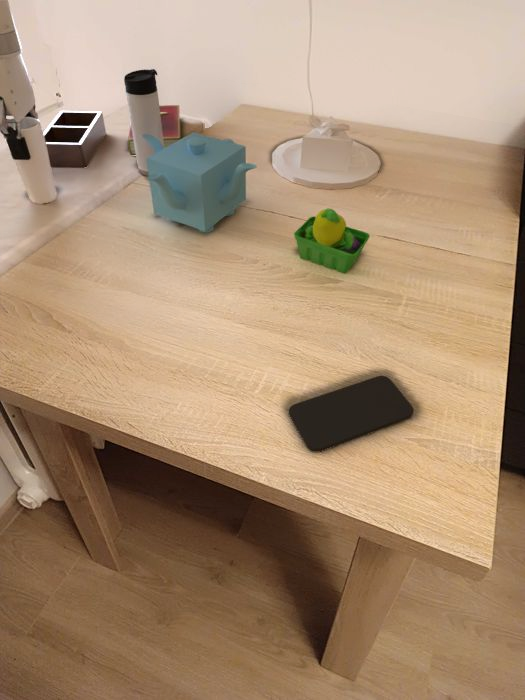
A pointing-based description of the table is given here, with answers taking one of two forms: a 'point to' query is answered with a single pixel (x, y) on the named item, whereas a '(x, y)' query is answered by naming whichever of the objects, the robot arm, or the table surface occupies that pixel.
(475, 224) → the table surface
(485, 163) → the table surface
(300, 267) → the table surface
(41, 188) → the drinking glass
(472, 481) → the table surface
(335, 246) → the fruit basket
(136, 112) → the travel mug
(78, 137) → the cup holder
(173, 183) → the teakettle
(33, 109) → the robot arm
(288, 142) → the dish
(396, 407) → the phone
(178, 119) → the hardcover book
